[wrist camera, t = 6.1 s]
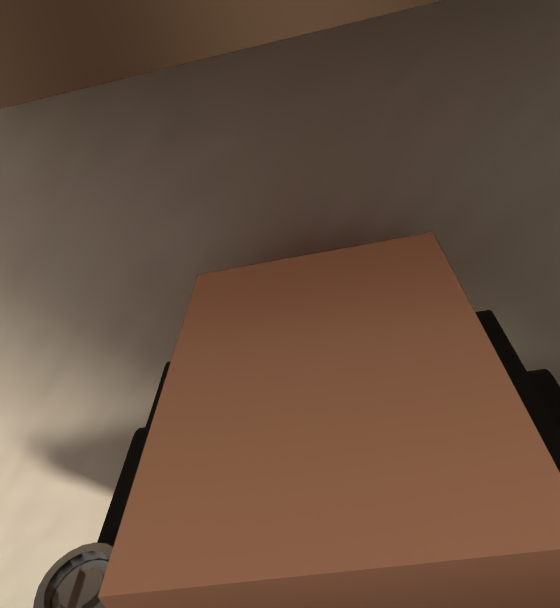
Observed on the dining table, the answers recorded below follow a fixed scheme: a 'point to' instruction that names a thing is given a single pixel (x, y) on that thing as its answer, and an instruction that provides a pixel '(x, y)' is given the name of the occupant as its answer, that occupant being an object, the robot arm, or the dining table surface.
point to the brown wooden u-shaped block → (148, 36)
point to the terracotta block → (338, 448)
